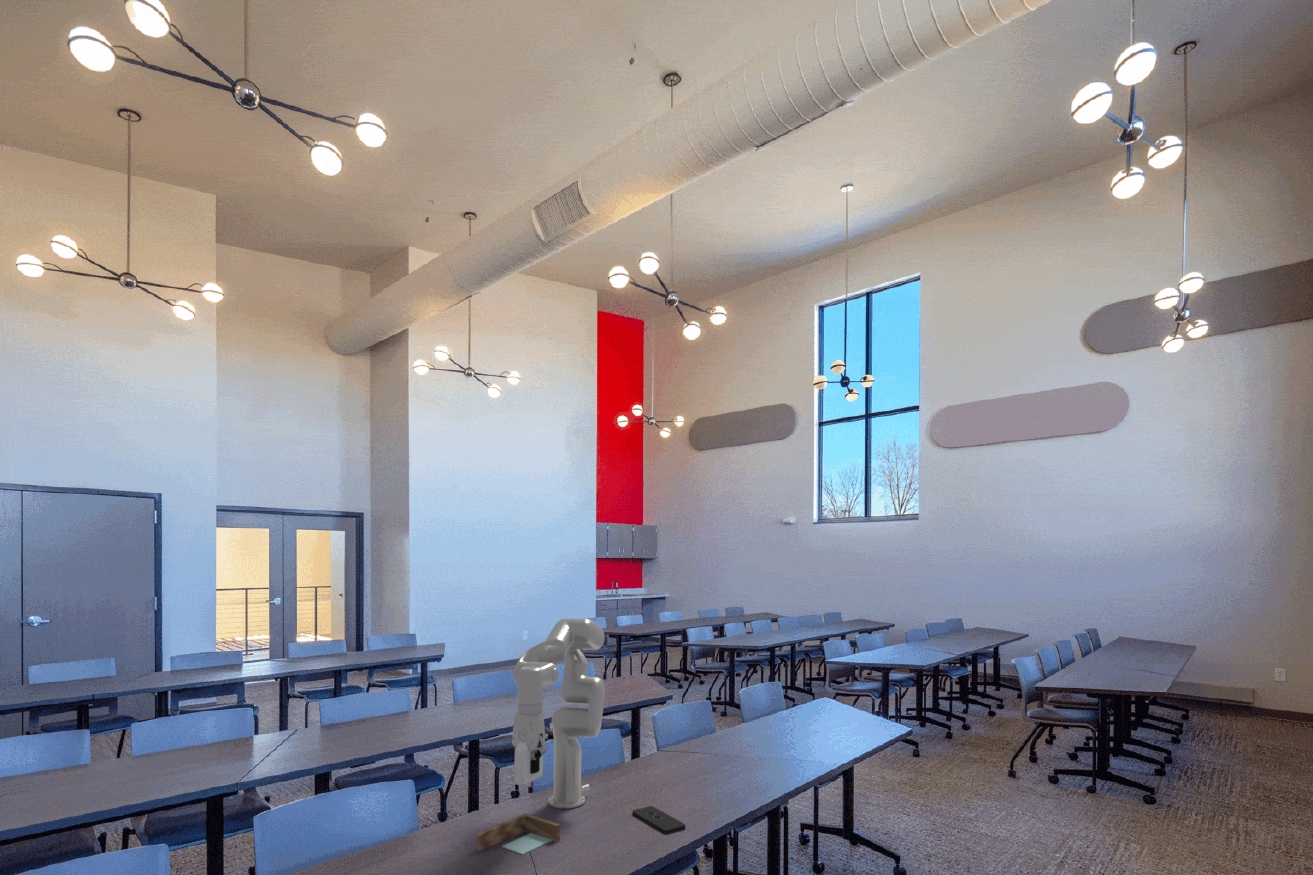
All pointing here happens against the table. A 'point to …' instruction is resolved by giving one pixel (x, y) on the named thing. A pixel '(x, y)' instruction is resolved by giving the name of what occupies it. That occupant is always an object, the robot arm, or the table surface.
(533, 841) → the pad
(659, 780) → the table surface
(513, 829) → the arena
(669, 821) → the smart home device
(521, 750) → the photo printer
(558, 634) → the robot arm
